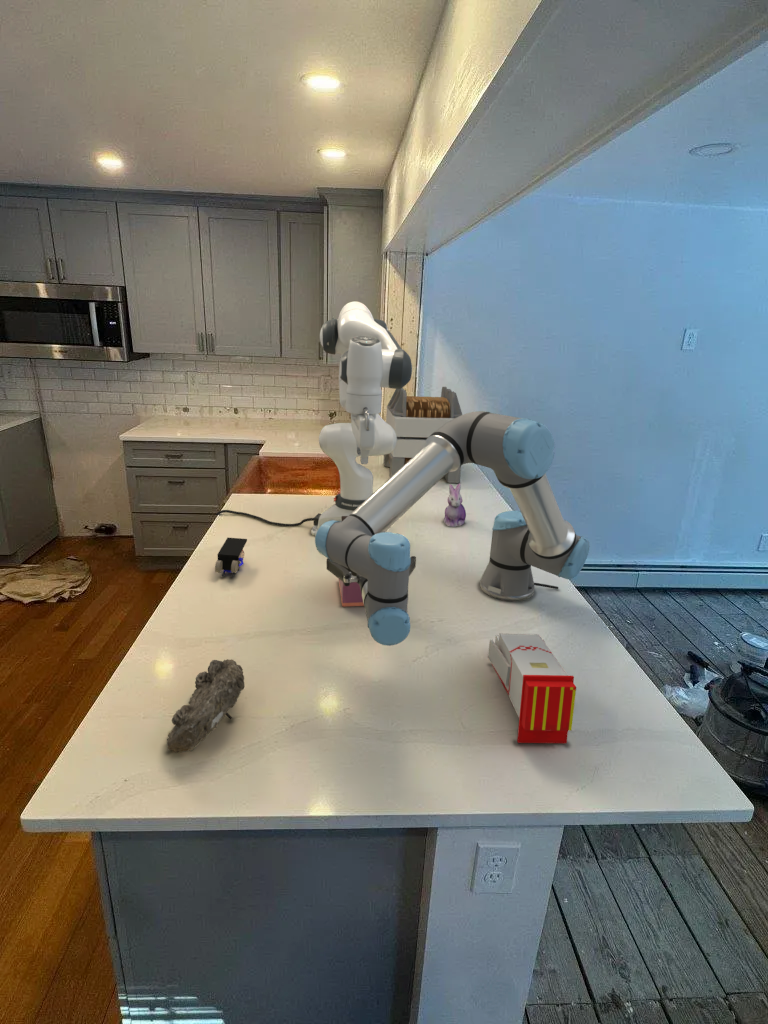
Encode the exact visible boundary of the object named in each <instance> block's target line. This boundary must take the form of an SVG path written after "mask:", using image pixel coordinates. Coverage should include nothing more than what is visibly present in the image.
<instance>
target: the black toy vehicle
mask: <svg viewBox="0 0 768 1024" xmlns="http://www.w3.org/2000/svg"><path fill="white" fill-rule="evenodd" d="M247 542H248V538H240V537H226V539H225V541H224V543H223V544H222V546H221V547H220V549H219V551H218V552H217V560H216V562H215V564H214V572H215V573H221V577H222V578H224V577H225V576H226V574H227V573H230V574H231V573H232V574H231V578H234V577H235V575H236V573H237V572H239V571H240V567H242V566H243V565H244V564H245V562H244V558H245V551H244V547H245V546H246V544H247Z"/></svg>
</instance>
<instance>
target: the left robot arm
mask: <svg viewBox="0 0 768 1024" xmlns="http://www.w3.org/2000/svg"><path fill="white" fill-rule="evenodd" d="M319 343H320V345H321V347H322V350H323V351H324V352H325V353H326V354H328V355H329V354H330V355H340V356H339V357H340V360H339V366H338V391H339V392H338V393H339V396H338V397H339V405H340V407H341V408H342V409H343V410H344V411H345V412H347V413H348V414H350V422H336V423H330V424H326V425H323V427H322V429H321V430H320V432H319V435H318V445H319V447H320V450H321V451H322V452H323V453H324V454H325V455H326V456H328V457H329V458H330V459H331V460H332V462H333V463H334V464H335V466H336V467H337V470H338V474H339V483H340V484H339V485H340V488H339V489H340V490H339V491H338V492H337V494H336V495H335V496H334V497H333V502H334V504H333V505H331V506H329V507H328V508H326V509H325V510H323V512H321V513H317V514H316V515H315V516H314V517H308V518H304V519H302V520H300V522H296V523H281V522H275V521H270V520H267V519H265V518H263V517H262V516H261V517H260V516H257V515H255V514H251V513H247V512H242V511H236V510H230V509H222V510H219V511H217V512H216V513H215V516H219V515H221V514H224V513H227V514H234V515H239V516H246V517H249V518H252V519H255V520H259V521H261V522H263V523H266V524H268V525H271V526H279V527H299V526H301V525H303V524H304V523H306V522H311V521H313V526H312V528H311V530H310V533H311V536H315V537H316V533H317V531H318V529H319V528H320V526H321V525H322V524H324V523H325V522H328V521H331V520H335V521H340V522H342V521H341V517H342V516H349V515H350V514H351V513H352V512H353V511H354V510H355V509H356V508H358V507H359V506H360V505H361V504H362V503H363V502H364V501H365V500H366V499H367V498H369V497H370V496H371V495H372V494H373V493H374V474H373V472H372V471H371V469H369V468H368V467H366V466H364V465H368V463H369V457H380V456H384V455H385V454H390V453H391V452H392V451H393V450H394V448H395V446H396V442H397V437H396V433H395V431H394V429H393V428H392V427H391V426H390V425H389V424H387V423H386V420H384V419H383V418H382V417H381V415H380V414H381V413H382V400H383V399H382V398H383V397H382V395H383V390H382V388H387V389H393V390H396V389H401V388H403V389H404V387H406V386H407V384H408V383H410V381H411V380H412V379H411V378H412V374H413V363H412V359H411V357H410V355H409V353H407V351H406V350H405V349H403V348H402V347H401V346H400V344H399V343H398V341H397V339H396V338H395V337H394V335H393V334H392V332H391V331H390V330H389V328H388V325H387V323H386V322H385V320H383V319H378V318H374V316H373V314H372V312H371V310H370V309H369V308H368V307H367V305H365V304H364V303H363V302H361V301H355V300H354V301H349V302H348V303H346V304H344V306H343V307H342V308H341V310H340V312H339V314H338V318H334V317H332V318H331V319H329V320H327V321H325V322H323V324H322V325H321V327H320V330H319ZM358 457H359V458H360V460H359V461H360V463H359V462H357V458H358Z"/></svg>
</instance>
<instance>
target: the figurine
mask: <svg viewBox="0 0 768 1024" xmlns="http://www.w3.org/2000/svg"><path fill="white" fill-rule="evenodd" d="M461 487H462V485H461V483H457V485H456V486H455V487H454V486H453V485H452V483H449V485H448V491H449V494H448V496H447V503H448V505H447V506H446V507H445V509H444V518H443V523H444V524H445V525H446V526H447V527H453V528H455V527H460V526H463V525H464V524H465V522H466V519H467V512H466V509H465V506H464V505H463V504H462V503H463V497H462V495H461Z"/></svg>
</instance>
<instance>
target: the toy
mask: <svg viewBox="0 0 768 1024" xmlns="http://www.w3.org/2000/svg"><path fill="white" fill-rule="evenodd" d="M487 659H488V661H489V662H490V663H491V666H492V668H493V670H494V671H495V673H496V676H497V678H498V679H499V681H500V682H501V685H502V686H503V689H504V690H505V692H506V694H507V695H508V698H509V700H510V702H511V705H512V706H513V708H514V711H515V713H516V715H517V717H518V728H517V741H516V742H517V743H518V744H567V743H568V734H569V732H570V731H573V720H574V711H575V704H576V696H577V695H576V694H577V686H576V685H575V683H574V681H575V676H574V675H569V674H568V673H567V671H566V670H565V669H564V667H563V666H562V664H560V662H559V661H558V659H557V657H556V656H555V655H554V653H553V651H552V650H551V649H550V648H549V646H548V644H547V643H546V641H545V639H543V638H542V636H541V635H540V633H503V632H501V633H499V634H496V635H495V639H494V640H493V639H489V644H488V652H487Z"/></svg>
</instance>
